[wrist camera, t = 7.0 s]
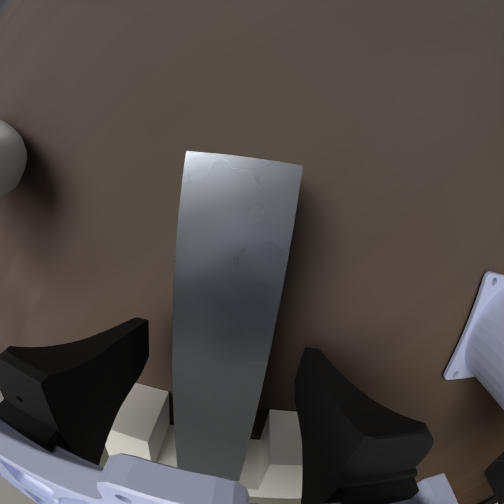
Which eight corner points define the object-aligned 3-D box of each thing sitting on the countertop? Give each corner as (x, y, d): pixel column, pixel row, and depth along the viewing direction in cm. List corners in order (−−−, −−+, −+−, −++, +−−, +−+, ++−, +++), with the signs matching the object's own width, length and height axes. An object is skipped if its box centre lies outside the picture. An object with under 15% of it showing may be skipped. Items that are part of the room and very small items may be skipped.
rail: (288, 171, 13) (303, 165, 8) (244, 423, 17) (239, 481, 12) (214, 161, 13) (186, 151, 8) (193, 415, 17) (177, 470, 12)
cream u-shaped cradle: (314, 412, 16) (324, 465, 12) (296, 451, 17) (300, 498, 13) (126, 379, 16) (98, 424, 12) (132, 422, 17) (112, 464, 13)
